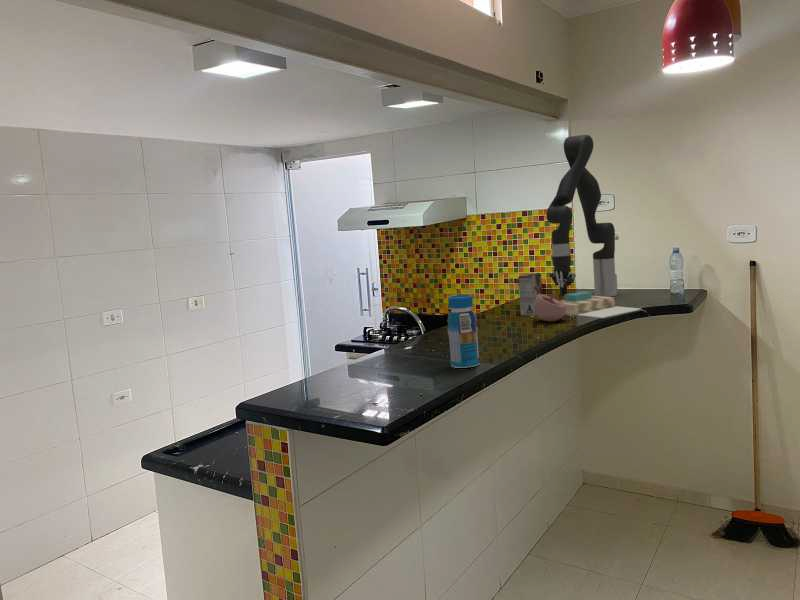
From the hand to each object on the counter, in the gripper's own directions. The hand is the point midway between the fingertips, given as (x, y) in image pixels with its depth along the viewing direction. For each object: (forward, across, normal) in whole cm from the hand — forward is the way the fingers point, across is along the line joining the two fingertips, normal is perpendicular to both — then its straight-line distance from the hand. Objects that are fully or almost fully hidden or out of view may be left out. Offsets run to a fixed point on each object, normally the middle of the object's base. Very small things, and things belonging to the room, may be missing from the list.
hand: (563, 295), depth 256 cm
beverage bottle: (+6, -48, +87) cm, 99 cm away
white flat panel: (+5, -24, 0) cm, 24 cm away
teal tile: (0, -8, 0) cm, 8 cm away
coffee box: (+5, +1, +17) cm, 18 cm away
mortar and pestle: (+5, -18, +25) cm, 31 cm away
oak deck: (+5, -10, 0) cm, 11 cm away
